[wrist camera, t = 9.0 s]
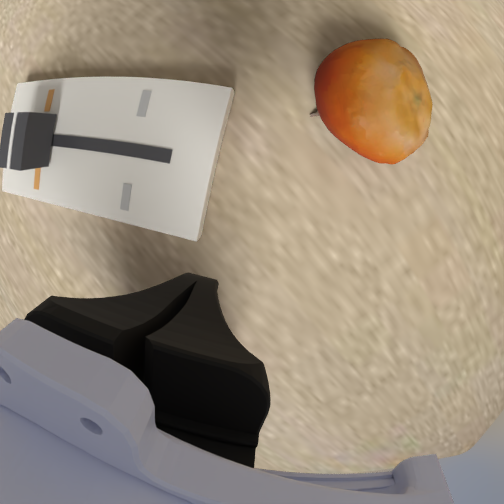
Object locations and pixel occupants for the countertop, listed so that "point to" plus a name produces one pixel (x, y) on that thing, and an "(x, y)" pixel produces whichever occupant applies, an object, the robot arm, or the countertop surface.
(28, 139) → the fader knob
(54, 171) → the fader console
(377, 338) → the countertop surface
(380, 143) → the fruit
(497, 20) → the countertop surface
